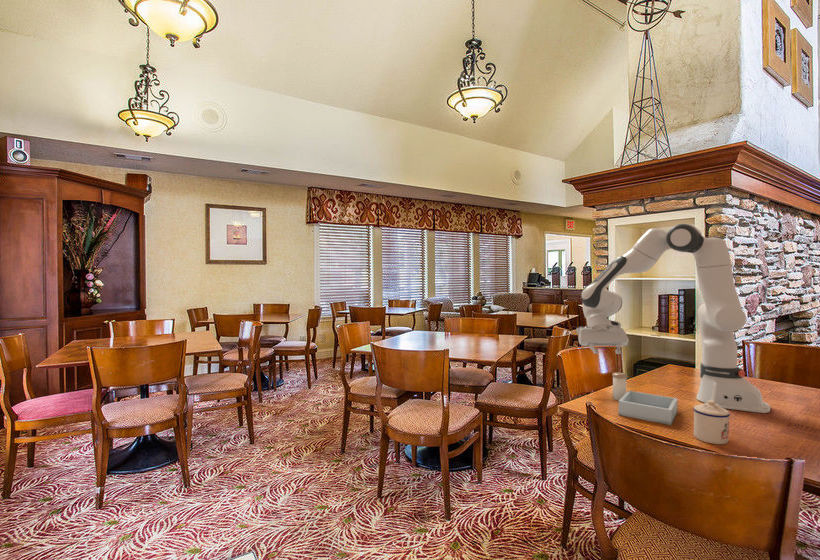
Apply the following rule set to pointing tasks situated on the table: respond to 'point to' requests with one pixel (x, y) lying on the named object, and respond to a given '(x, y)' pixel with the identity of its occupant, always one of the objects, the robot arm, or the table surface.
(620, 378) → the dressing jar
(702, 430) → the teacup with lid
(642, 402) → the serving bin
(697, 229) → the robot arm
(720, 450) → the table surface
